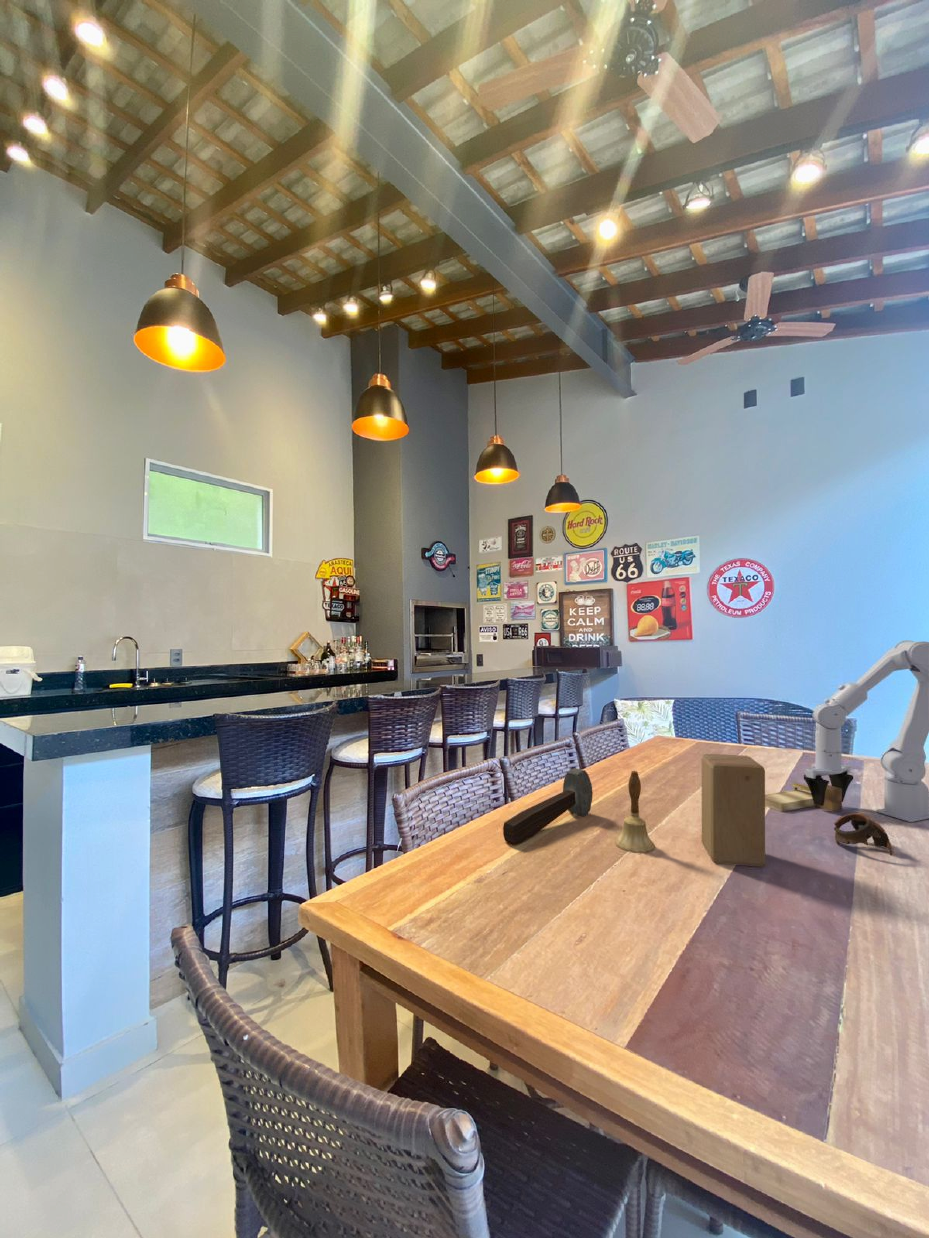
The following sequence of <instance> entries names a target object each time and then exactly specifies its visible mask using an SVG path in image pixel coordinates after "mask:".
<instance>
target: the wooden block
mask: <svg viewBox="0 0 929 1238" xmlns="http://www.w3.org/2000/svg"><path fill="white" fill-rule="evenodd" d="M765 795H766V770H765V768H764V766H763V765H761V764H760V763H758V762H757V761H756V760H754V759H753V758H752V757H750V756H749V755H739V754H737V755H736V754H720V753H719V754H718V753H717V754H715V753H706V754H702V757H701V843H702V846H703V848H704V849H705V851H706V853H707V854H708V856H709V858H710V860H711V861H712V862H713V863H715V864H727V865H738V866H749V867H760V868H761V867H764V866H765V864H766V806H765Z"/></svg>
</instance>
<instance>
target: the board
mask: <svg viewBox="0 0 929 1238" xmlns="http://www.w3.org/2000/svg"><path fill="white" fill-rule="evenodd" d="M765 807H767V808H770V809H773V810H776V811H778V812H781V813H782V812H787V811H792V810H797V809H803V808H808V807H816V804H814V801H813V798H812V794H811V792H809V791H806V790H803V789H799V788H797V790H795V789H792V790H786V791H780V792H773V793H768V794H767V793H765Z"/></svg>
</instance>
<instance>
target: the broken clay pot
mask: <svg viewBox="0 0 929 1238" xmlns="http://www.w3.org/2000/svg"><path fill="white" fill-rule="evenodd" d="M847 823H850V825H851V826H852V828H853V829H854V830H851V831H849V830H847V831H846V830H843V829H842V830H841V829H840V828H841V827H842V826H843V825H844V826H845V824H847ZM834 826H835V827H834V828H833V829H834V831H835V832H834V840H835V843H836V845H840V843H841V844H846V845H850V844H851V845H857V844H864V845H866V846H869V843H868V840H869V839H870V838H872V840H873V845H874V846H876V847H883V848H884V849H888V854H889V856H892V857H893V854H894V851H893V849H892V848H893V847H892V844H891V841H890V839H889V836H888V834H887V833H886V830H885V829H884V828H883V827H882V826H881V824H879V823H877V822H876V821H875V820H872V819H871V817H869V815H867V814H865V813H861V812H859V813H858V812H853V813H848V814H845V815H842V816H840V817H839V818H837V819H836V820H835V822H834Z"/></svg>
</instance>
